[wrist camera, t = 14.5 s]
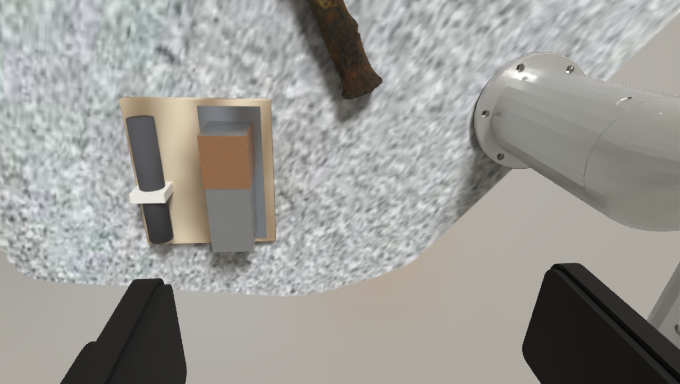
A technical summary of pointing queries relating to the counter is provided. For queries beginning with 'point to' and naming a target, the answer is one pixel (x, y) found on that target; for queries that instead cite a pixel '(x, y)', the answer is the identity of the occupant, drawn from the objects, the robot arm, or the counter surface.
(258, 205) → the board
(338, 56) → the hand tool
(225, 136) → the grey and copper block
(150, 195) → the rod
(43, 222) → the counter surface
